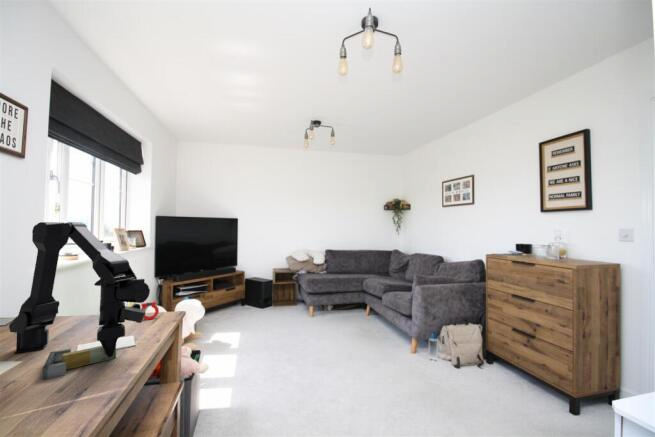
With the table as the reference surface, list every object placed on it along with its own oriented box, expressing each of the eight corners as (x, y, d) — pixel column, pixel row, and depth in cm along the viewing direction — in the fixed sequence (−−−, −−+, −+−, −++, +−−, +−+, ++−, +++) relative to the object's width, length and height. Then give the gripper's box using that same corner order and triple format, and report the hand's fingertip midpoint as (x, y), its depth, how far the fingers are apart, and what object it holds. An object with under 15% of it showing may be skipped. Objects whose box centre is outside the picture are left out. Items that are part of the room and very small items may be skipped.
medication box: (114, 356, 89) (114, 342, 89) (116, 358, 87) (117, 344, 87) (60, 368, 80) (61, 353, 81) (61, 371, 78) (62, 355, 79)
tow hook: (141, 320, 120) (139, 303, 123) (136, 328, 126) (134, 312, 129) (159, 317, 124) (157, 300, 127) (153, 325, 130) (152, 309, 133)
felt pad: (74, 357, 87) (74, 356, 87) (77, 346, 95) (77, 345, 95) (135, 346, 96) (135, 344, 96) (133, 336, 104) (133, 335, 104)
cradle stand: (42, 379, 74) (42, 367, 74) (50, 362, 83) (50, 352, 84) (65, 374, 77) (66, 363, 77) (70, 358, 86) (71, 348, 86)
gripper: (146, 303, 85) (145, 358, 84) (141, 291, 100) (140, 338, 99) (97, 309, 78) (95, 369, 78) (100, 296, 93) (98, 345, 93)
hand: (110, 354), depth 87 cm, fingers open, 4 cm apart
